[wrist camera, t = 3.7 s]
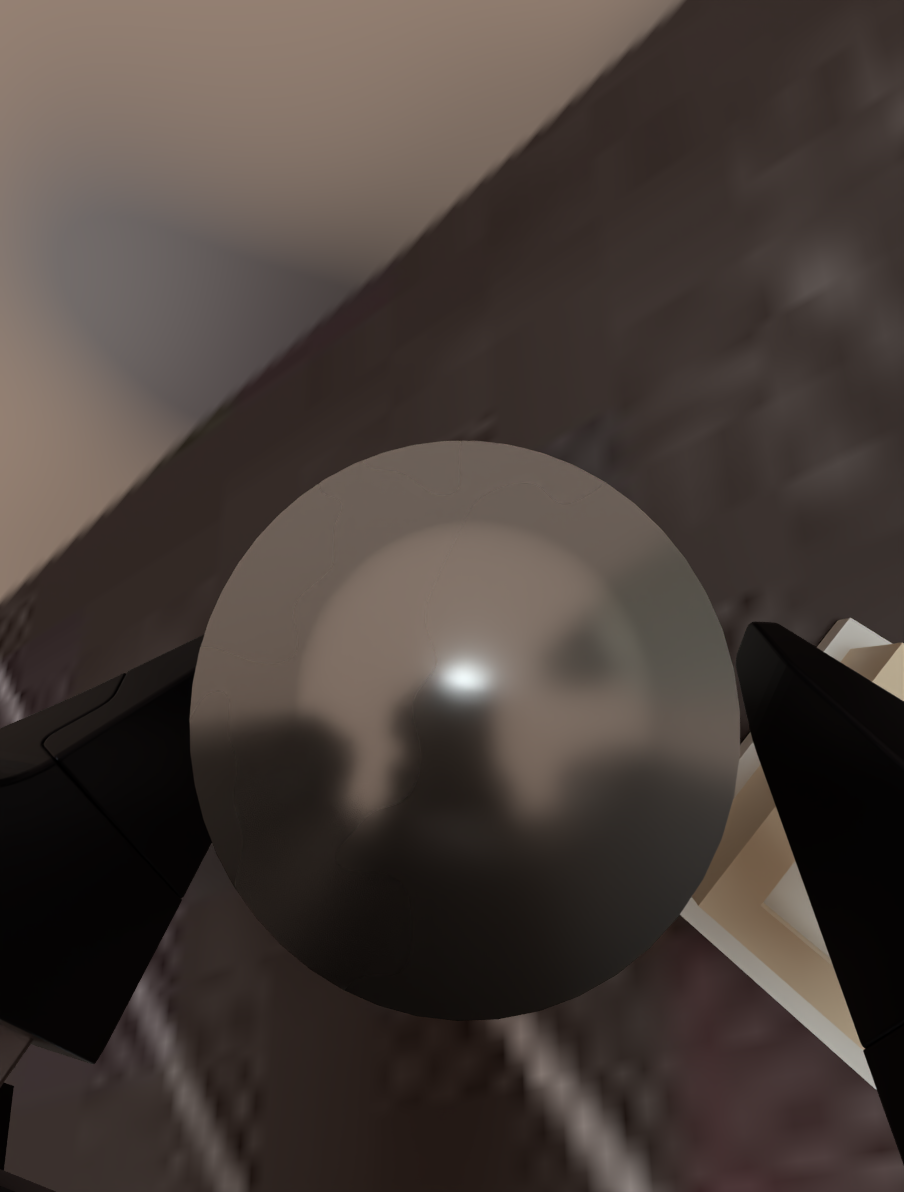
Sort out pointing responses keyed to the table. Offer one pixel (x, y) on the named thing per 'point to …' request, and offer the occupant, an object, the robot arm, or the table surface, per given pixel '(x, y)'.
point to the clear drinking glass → (464, 730)
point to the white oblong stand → (785, 879)
